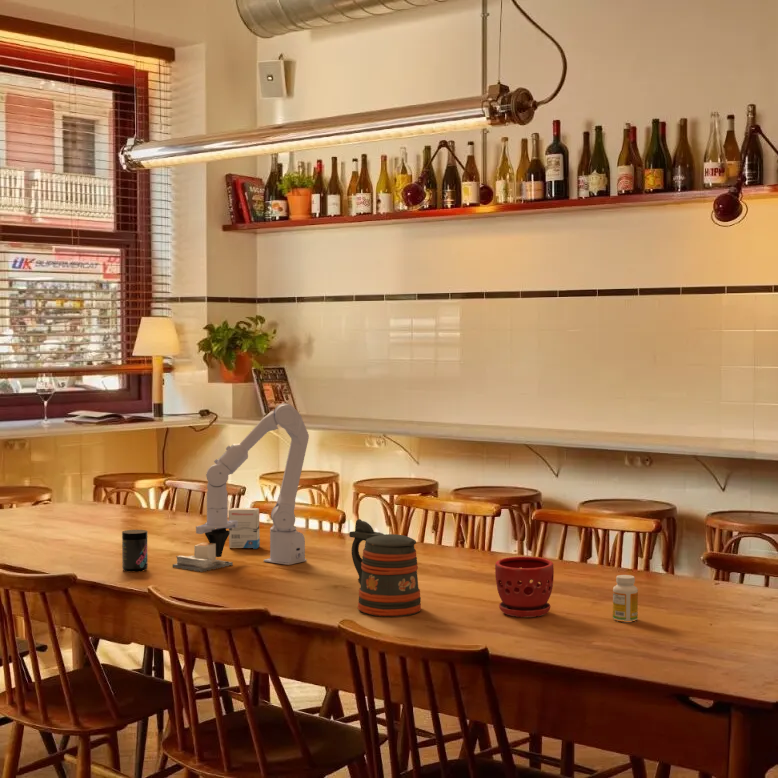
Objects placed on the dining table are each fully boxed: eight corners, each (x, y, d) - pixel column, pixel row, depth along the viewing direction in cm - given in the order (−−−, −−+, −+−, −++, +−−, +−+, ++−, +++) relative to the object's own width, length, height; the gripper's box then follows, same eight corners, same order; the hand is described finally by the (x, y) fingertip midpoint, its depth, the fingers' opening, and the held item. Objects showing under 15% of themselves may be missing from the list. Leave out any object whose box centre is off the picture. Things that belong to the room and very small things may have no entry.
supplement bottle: (634, 617, 263) (634, 574, 263) (640, 622, 258) (640, 578, 258) (610, 617, 263) (610, 574, 263) (615, 622, 258) (616, 578, 258)
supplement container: (133, 573, 312) (132, 534, 312) (117, 570, 317) (116, 531, 316) (153, 569, 318) (152, 531, 317) (136, 566, 322) (136, 528, 322)
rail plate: (232, 565, 324) (232, 554, 324) (201, 571, 314) (201, 561, 314) (203, 560, 331) (203, 550, 330) (172, 567, 321) (172, 556, 321)
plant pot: (490, 607, 273) (491, 556, 272) (546, 607, 273) (547, 555, 273) (500, 621, 260) (500, 567, 259) (558, 620, 260) (559, 566, 260)
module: (215, 561, 325) (215, 542, 325) (207, 564, 320) (207, 545, 320) (202, 560, 326) (202, 542, 326) (194, 563, 322) (194, 545, 321)
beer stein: (329, 609, 271) (329, 522, 270) (368, 598, 283) (368, 515, 282) (395, 620, 260) (395, 530, 259) (433, 608, 272) (433, 522, 271)
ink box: (260, 546, 354) (260, 507, 354) (256, 549, 349) (256, 509, 349) (232, 546, 355) (232, 507, 354) (228, 548, 350) (228, 509, 350)
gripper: (225, 503, 335) (225, 551, 335) (187, 509, 323) (188, 558, 324) (243, 505, 331) (243, 553, 331) (206, 511, 319) (206, 561, 319)
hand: (217, 556), depth 327 cm, fingers closed
